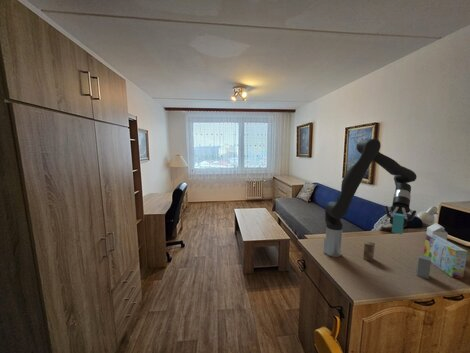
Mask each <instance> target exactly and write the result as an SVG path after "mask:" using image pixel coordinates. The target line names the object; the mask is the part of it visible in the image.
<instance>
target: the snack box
mask: <svg viewBox="0 0 470 353" xmlns="http://www.w3.org/2000/svg"><path fill="white" fill-rule="evenodd" d="M468 253H469V251H467V250H466V249H464V248H462V247H460V246H458V245H456V244H454V243H452V242H450V241H449V240H448V239H447V240H445V239H443V238H441V237H439V236H437V235H431V234H425V241H424V249H423V256H427V257H431V264H432V265H434V266H435V267H437V268H438V269H440V270H441V271H443V272H444V273H445V274H446V275H448V276H450V278H455V279H464V274H465V269H466V264H467V259H468Z"/></svg>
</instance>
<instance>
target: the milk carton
mask: <svg viewBox="0 0 470 353" xmlns="http://www.w3.org/2000/svg"><path fill="white" fill-rule="evenodd" d="M426 234H431V235H437V236H439V237H441V238H443V239H445V240H447V241H448V232H447V231H446V230H445V227H444V226H442V225H440V224H439V223H437V222H434V223H433V224H431V225H429V226H427V227H426ZM426 234H425V235H426Z"/></svg>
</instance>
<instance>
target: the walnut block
mask: <svg viewBox="0 0 470 353" xmlns="http://www.w3.org/2000/svg"><path fill="white" fill-rule="evenodd" d="M375 246H376V243H375V242H372V241H368V240H365V242H364V246H363V257H362V258H363V260H365V261H368V262H373V260H374V256H375V255H374V254H375Z"/></svg>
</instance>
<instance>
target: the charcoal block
mask: <svg viewBox="0 0 470 353" xmlns="http://www.w3.org/2000/svg"><path fill="white" fill-rule="evenodd" d="M431 265H432V263H431V257H427V256H423V255H422V254H418V259H417V267H416V276H418V277H420V278H423V279H427V280H429V279H430V272H431Z"/></svg>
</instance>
